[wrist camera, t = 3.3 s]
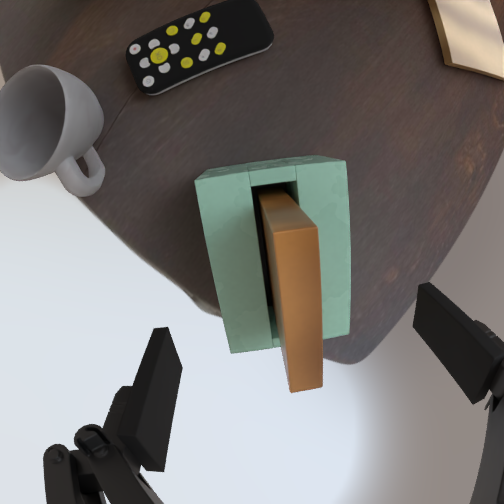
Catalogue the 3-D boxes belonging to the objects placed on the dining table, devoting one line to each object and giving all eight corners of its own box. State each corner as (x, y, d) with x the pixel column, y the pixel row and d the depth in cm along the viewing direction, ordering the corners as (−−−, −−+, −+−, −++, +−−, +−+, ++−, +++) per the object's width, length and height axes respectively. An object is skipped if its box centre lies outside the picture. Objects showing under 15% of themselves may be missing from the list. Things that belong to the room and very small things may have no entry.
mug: (36, 122, 23) (-25, 124, 14) (94, 63, 21) (40, 40, 12) (90, 208, 26) (36, 239, 17) (155, 153, 25) (114, 161, 16)
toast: (270, 296, 27) (290, 393, 16) (255, 189, 24) (272, 232, 13) (291, 293, 27) (322, 387, 16) (280, 185, 24) (318, 226, 13)
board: (415, -32, 17) (420, -36, 16) (479, -7, 17) (486, -9, 16) (444, 64, 22) (452, 63, 21) (504, 81, 22) (511, 80, 21)
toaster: (234, 317, 31) (234, 367, 24) (206, 169, 26) (194, 180, 18) (325, 302, 31) (348, 348, 24) (315, 154, 26) (345, 160, 18)
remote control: (277, 48, 22) (280, 42, 20) (147, 102, 23) (141, 99, 21) (251, -1, 20) (252, -10, 18) (126, 50, 21) (119, 45, 19)
